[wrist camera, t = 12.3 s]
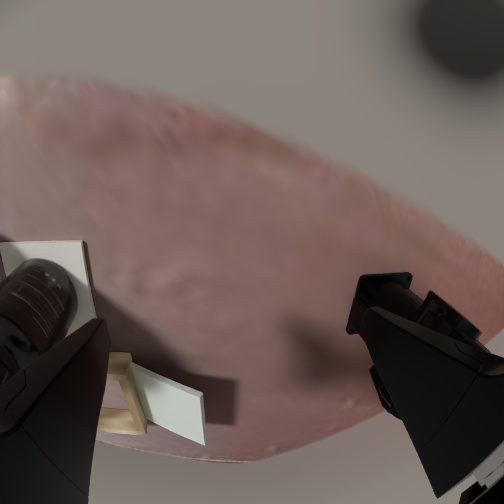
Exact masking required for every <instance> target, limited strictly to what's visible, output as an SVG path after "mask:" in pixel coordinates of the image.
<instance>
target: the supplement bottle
mask: <svg viewBox="0 0 504 504" xmlns="http://www.w3.org/2000/svg"><path fill="white" fill-rule="evenodd" d="M77 309H78V298H77V294H76V290H75V288H74V285H73V283H72V282H71V280H70V278H69V277H68V276H67V274H66V273H65V272H64V271H63V270H62V269H61V268H60V267H59V266H57V265H56V264H54V263H53V262H51V261H48V260H46V259H41V258H32V259H29V260H26V261H24V262H23V263H22V264H20V265H19V266H18V267H17V268H16V269H15V270H14V271H13V272H12V273H10V274H9V275H8V276H7V277H6V278H5V279H4V280H3V281H2V282H1V283H0V386H1V385H2V384H4V383H5V382H6V381H8V380H9V379H10V378H12V377H13V376H15V375H16V374H17V373H19V372H20V371H21V370H22V369H25V367H27V366H28V365H29V364H30V363H32V362H33V361H34V360H36V359H37V358H39V357H40V356H41V355H43V354H44V353H45V352H47V351H48V350H49V349H51V348H52V347H53V346H55V345H56V344H58V343H59V342H60V341H62V340H63V339H64V338H65V337H66V335H67V333H68V331H69V329H70V327H71V325H72V323H73V321H74V319H75V316H76V314H77Z"/></svg>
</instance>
